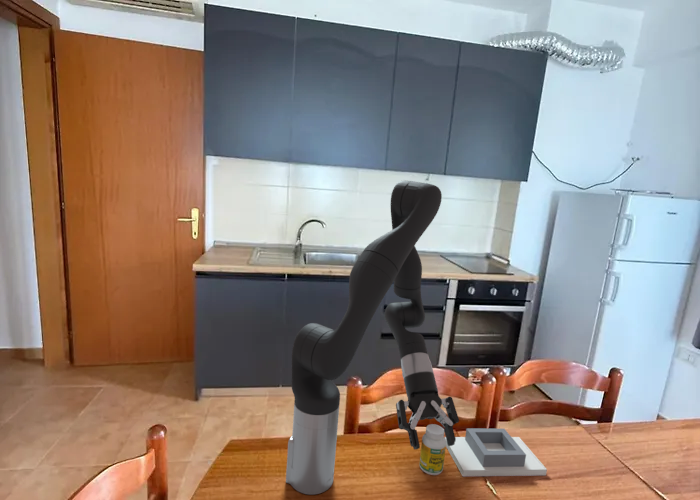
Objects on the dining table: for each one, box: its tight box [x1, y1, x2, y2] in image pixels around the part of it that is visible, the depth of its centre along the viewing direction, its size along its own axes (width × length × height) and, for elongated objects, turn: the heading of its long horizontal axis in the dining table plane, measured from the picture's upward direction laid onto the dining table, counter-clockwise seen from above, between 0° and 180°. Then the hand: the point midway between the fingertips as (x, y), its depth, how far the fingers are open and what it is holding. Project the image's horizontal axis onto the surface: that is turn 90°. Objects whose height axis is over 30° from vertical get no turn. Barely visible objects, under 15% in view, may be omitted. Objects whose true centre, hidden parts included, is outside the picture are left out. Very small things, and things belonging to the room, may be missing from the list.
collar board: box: [444, 427, 548, 477], centre depth 96 cm, size 20×12×4 cm, turn 97°
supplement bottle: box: [419, 423, 447, 476], centre depth 91 cm, size 5×5×10 cm
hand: (434, 447), depth 90 cm, fingers open, 8 cm apart
